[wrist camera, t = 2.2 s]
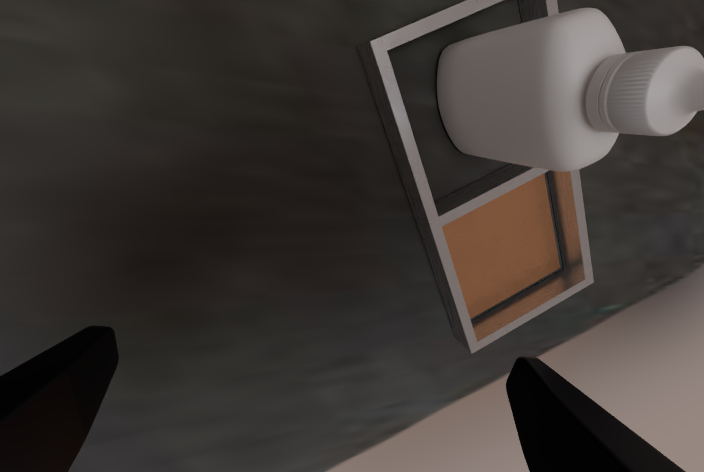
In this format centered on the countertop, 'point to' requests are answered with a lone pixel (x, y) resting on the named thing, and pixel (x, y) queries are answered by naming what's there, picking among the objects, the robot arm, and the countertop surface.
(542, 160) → the eye dropper bottle
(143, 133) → the countertop surface
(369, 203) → the countertop surface
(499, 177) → the tray
